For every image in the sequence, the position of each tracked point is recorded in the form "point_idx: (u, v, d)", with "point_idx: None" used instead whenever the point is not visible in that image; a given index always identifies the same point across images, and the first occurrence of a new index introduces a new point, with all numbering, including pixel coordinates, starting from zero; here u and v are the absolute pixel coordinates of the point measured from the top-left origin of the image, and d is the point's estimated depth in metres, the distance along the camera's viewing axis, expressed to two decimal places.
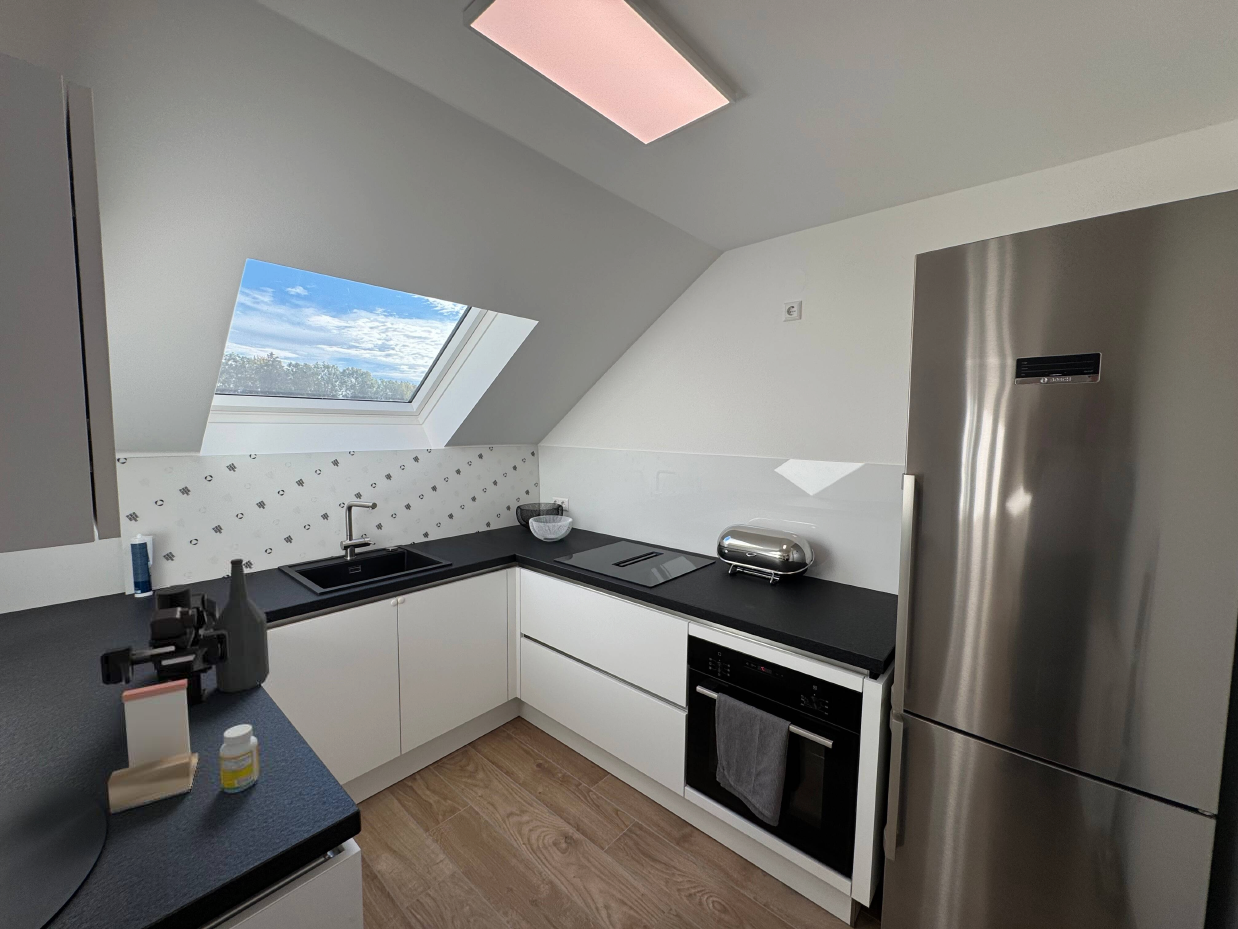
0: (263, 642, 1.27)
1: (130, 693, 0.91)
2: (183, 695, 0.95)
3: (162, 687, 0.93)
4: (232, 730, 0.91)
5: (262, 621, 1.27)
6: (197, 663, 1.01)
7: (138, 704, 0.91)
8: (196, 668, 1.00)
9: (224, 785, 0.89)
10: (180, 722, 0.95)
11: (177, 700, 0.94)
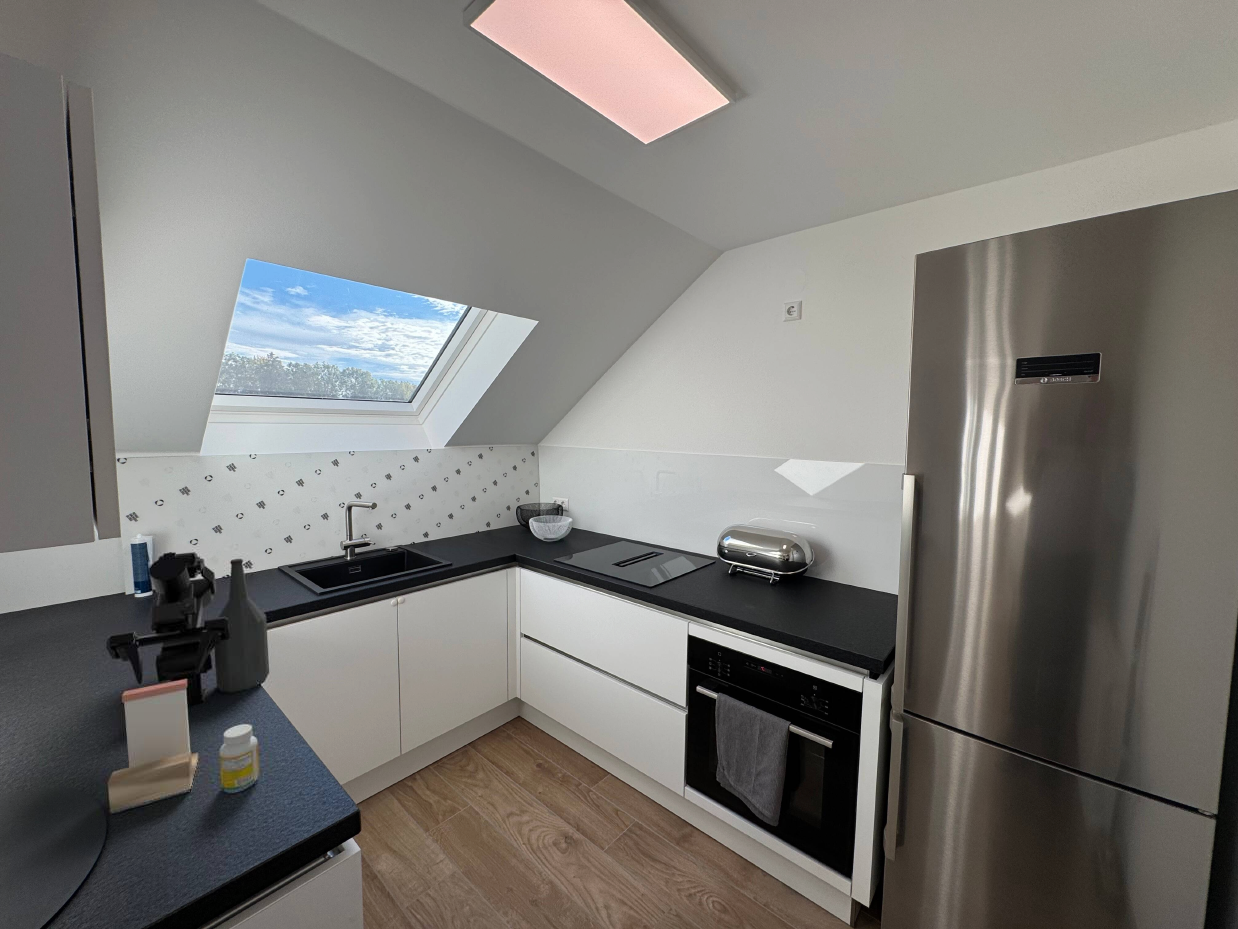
0: (263, 642, 1.27)
1: (130, 693, 0.91)
2: (183, 695, 0.95)
3: (162, 687, 0.93)
4: (232, 730, 0.91)
5: (262, 621, 1.27)
6: (201, 663, 1.07)
7: (138, 704, 0.91)
8: (200, 667, 1.07)
9: (224, 785, 0.89)
10: (180, 722, 0.95)
11: (177, 700, 0.94)
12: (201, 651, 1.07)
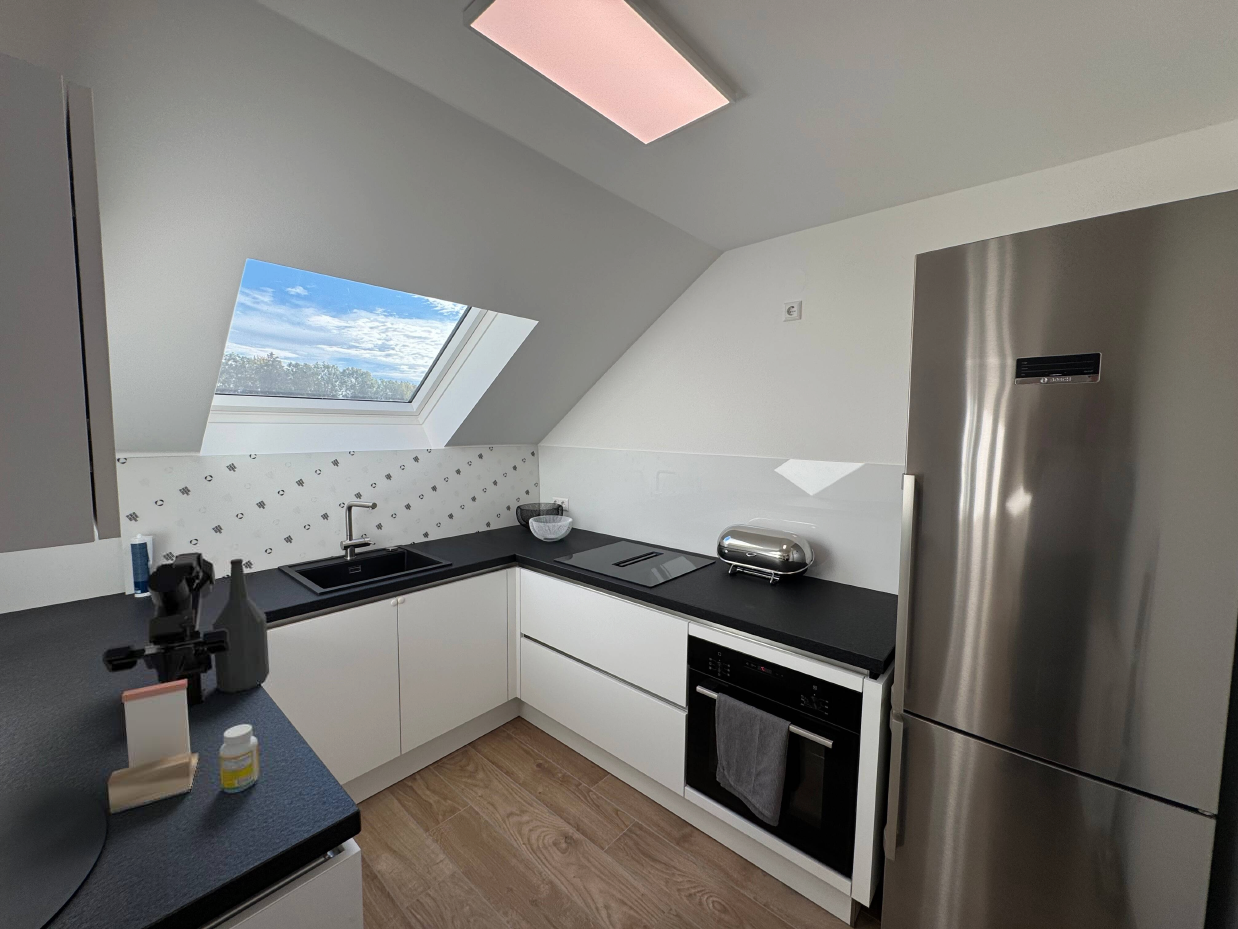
0: (263, 642, 1.27)
1: (130, 693, 0.91)
2: (183, 695, 0.95)
3: (162, 687, 0.93)
4: (232, 730, 0.91)
5: (262, 621, 1.27)
6: None
7: (138, 704, 0.91)
8: None
9: (224, 785, 0.89)
10: (180, 722, 0.95)
11: (177, 700, 0.94)
12: (173, 669, 1.03)
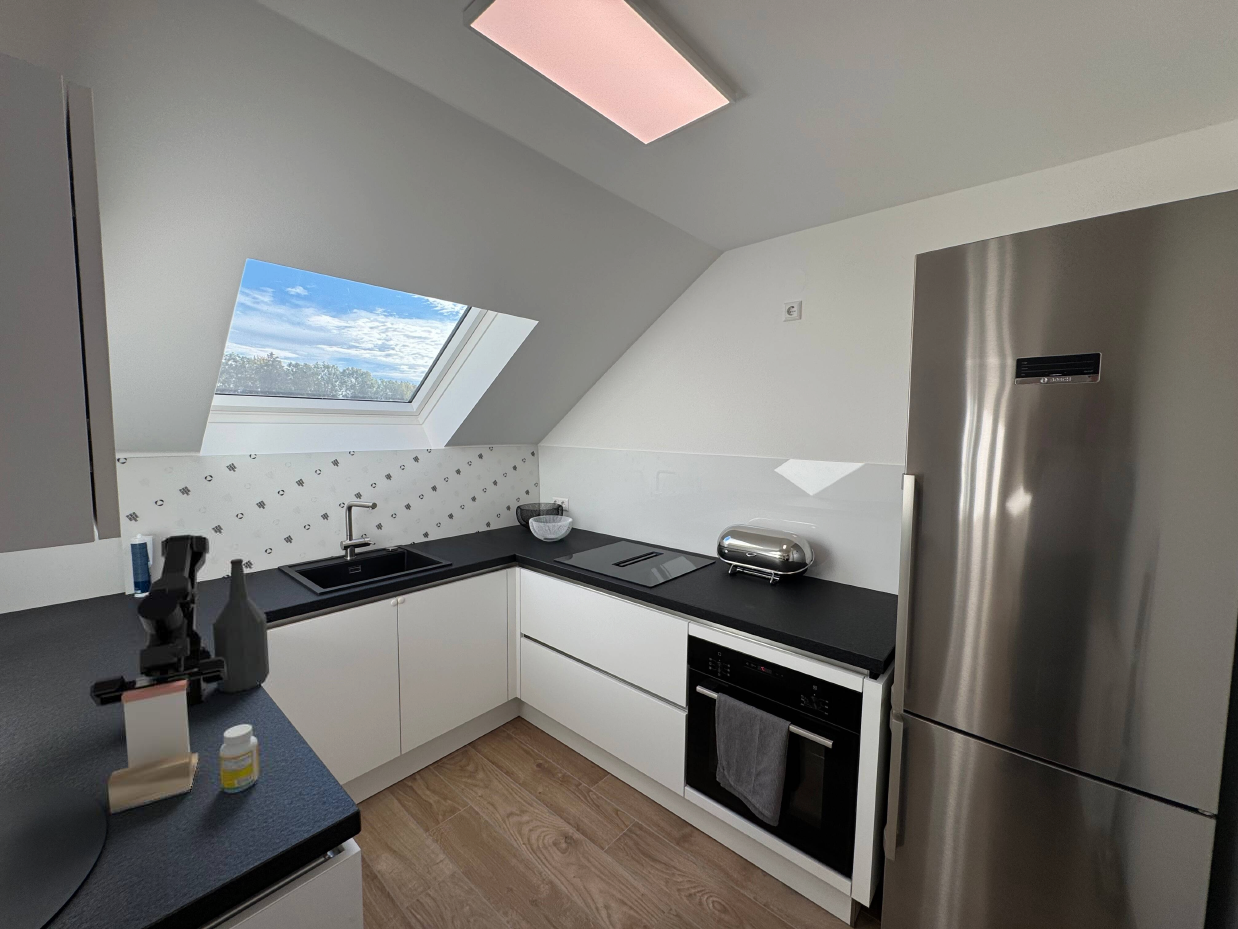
0: (263, 642, 1.27)
1: (129, 694, 0.91)
2: (183, 696, 0.94)
3: (162, 688, 0.93)
4: (232, 730, 0.91)
5: (262, 621, 1.27)
6: None
7: (138, 705, 0.91)
8: None
9: (224, 785, 0.89)
10: (180, 723, 0.94)
11: (176, 701, 0.94)
12: None
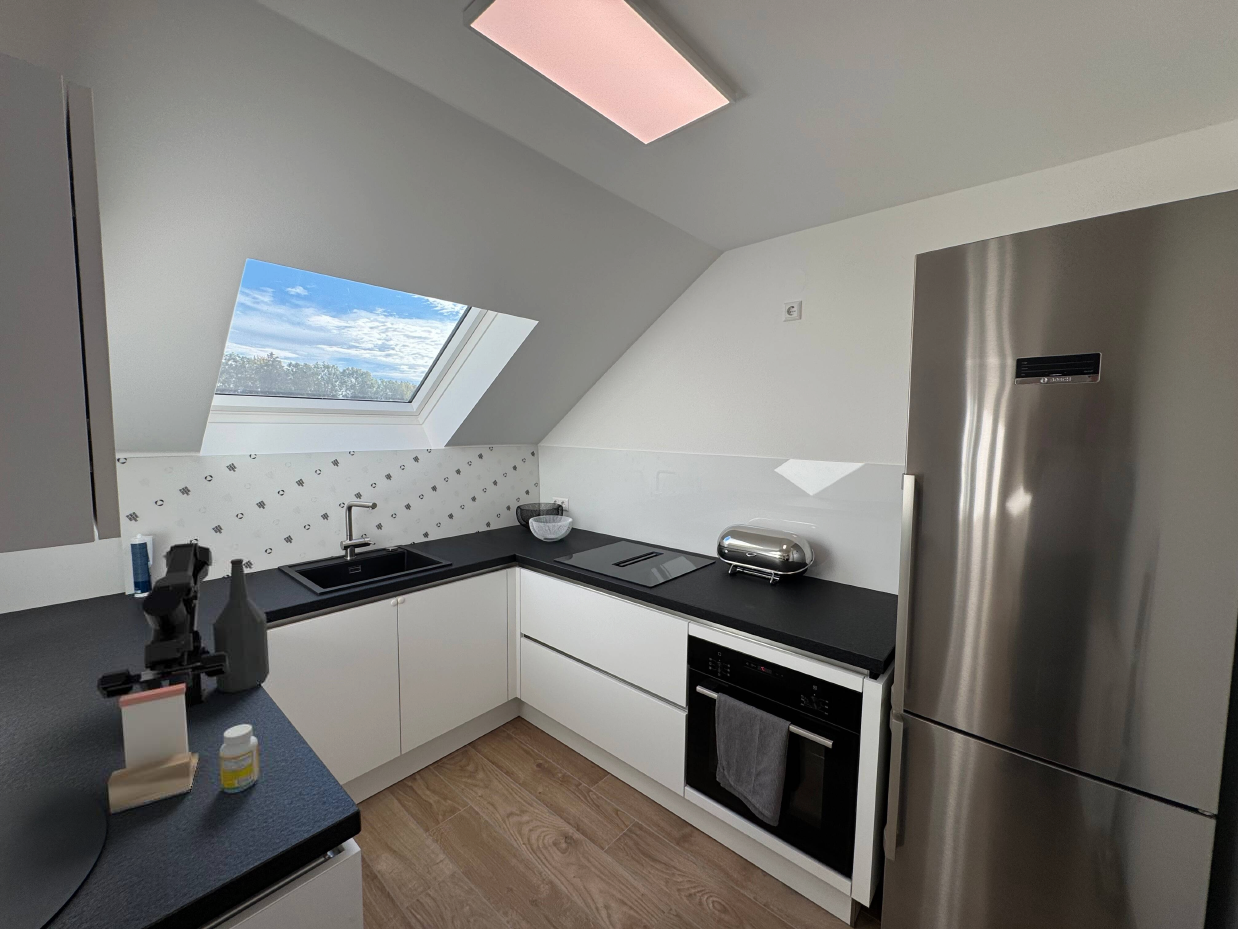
0: (263, 642, 1.27)
1: (127, 698, 0.89)
2: (181, 700, 0.93)
3: (160, 692, 0.91)
4: (232, 730, 0.91)
5: (262, 621, 1.27)
6: None
7: (135, 709, 0.90)
8: None
9: (224, 785, 0.89)
10: (178, 727, 0.93)
11: (175, 705, 0.93)
12: None
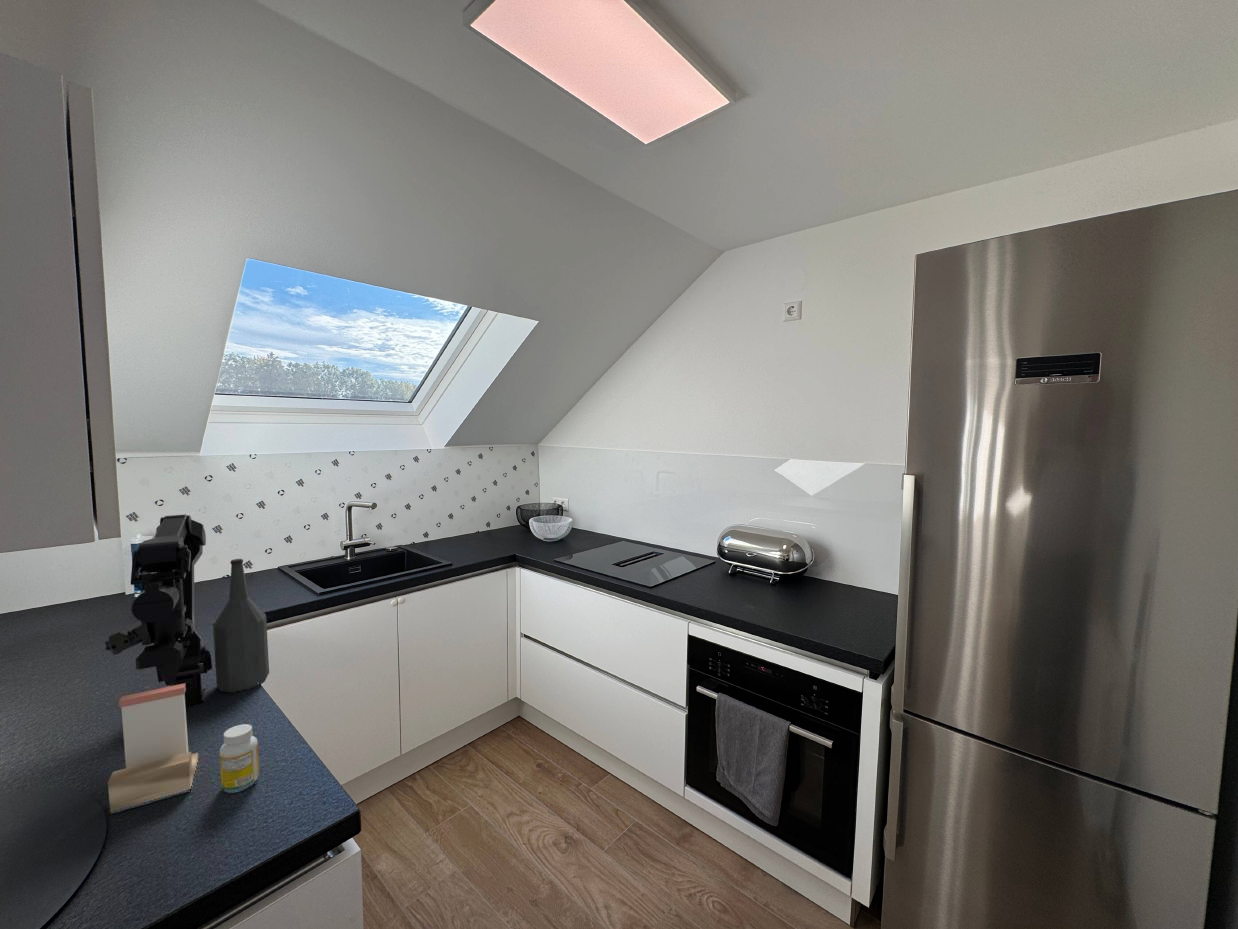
0: (263, 642, 1.27)
1: (127, 698, 0.89)
2: (181, 700, 0.93)
3: (160, 692, 0.91)
4: (232, 730, 0.91)
5: (262, 621, 1.27)
6: (167, 679, 1.03)
7: (135, 709, 0.90)
8: (172, 680, 1.04)
9: (224, 785, 0.89)
10: (178, 727, 0.93)
11: (175, 705, 0.93)
12: None
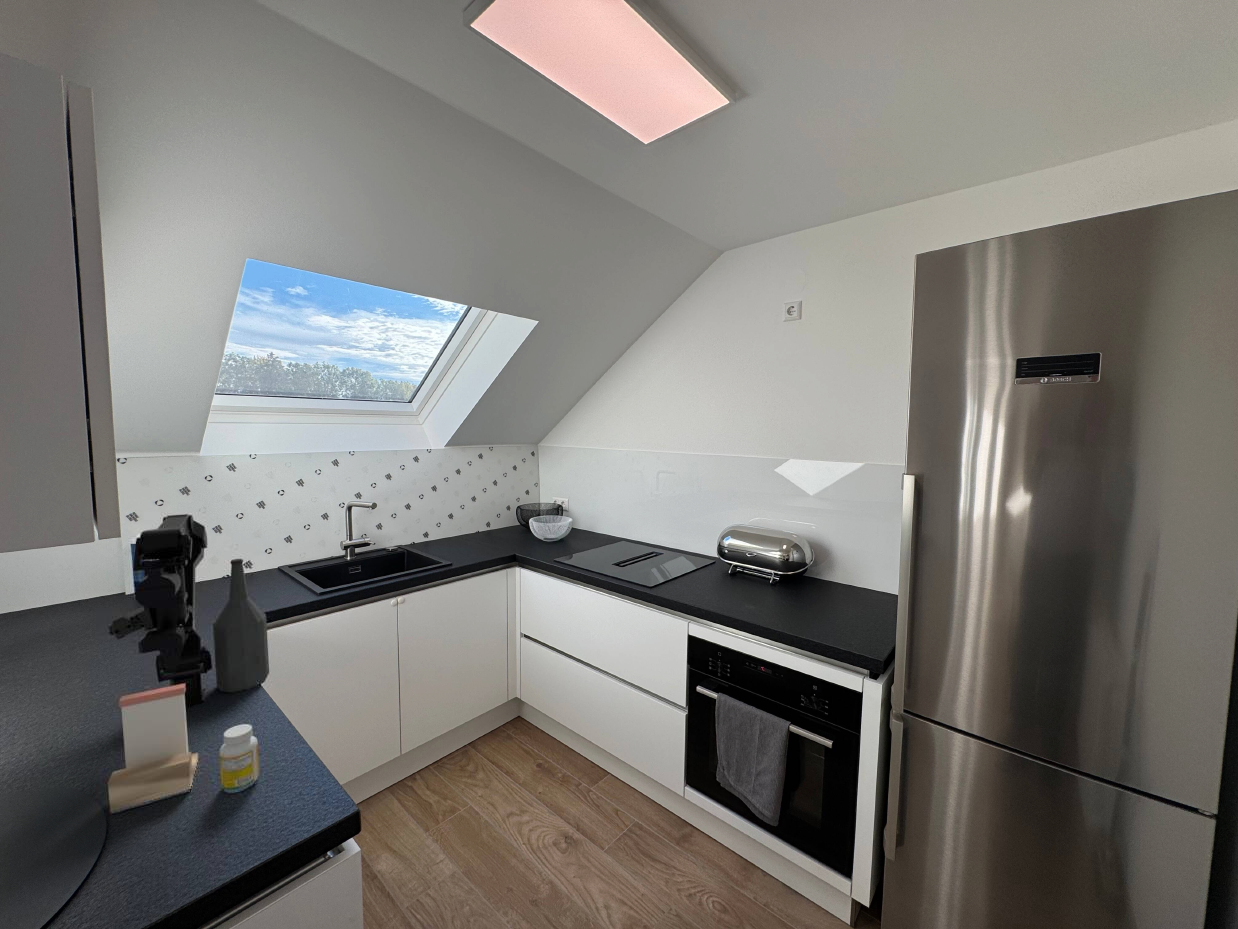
0: (263, 642, 1.27)
1: (127, 698, 0.89)
2: (181, 700, 0.93)
3: (160, 692, 0.91)
4: (232, 730, 0.91)
5: (262, 621, 1.27)
6: (169, 663, 1.06)
7: (135, 709, 0.90)
8: (174, 664, 1.06)
9: (224, 785, 0.89)
10: (178, 727, 0.93)
11: (175, 705, 0.93)
12: None
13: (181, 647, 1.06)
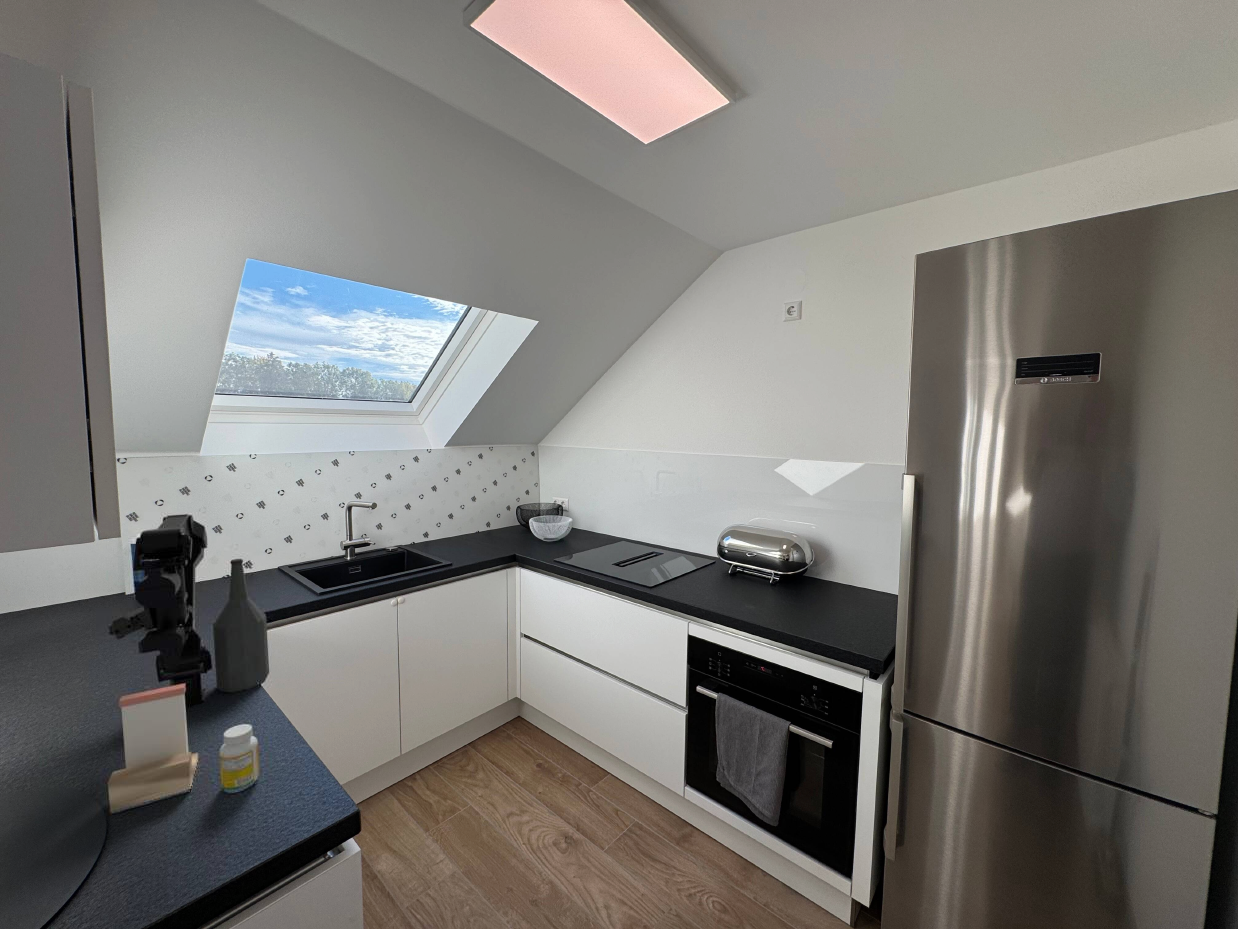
0: (263, 642, 1.27)
1: (127, 698, 0.89)
2: (181, 700, 0.93)
3: (160, 692, 0.91)
4: (232, 730, 0.91)
5: (262, 621, 1.27)
6: (169, 663, 1.06)
7: (135, 709, 0.90)
8: (174, 664, 1.06)
9: (224, 785, 0.89)
10: (178, 727, 0.93)
11: (175, 705, 0.93)
12: None
13: (181, 647, 1.06)
